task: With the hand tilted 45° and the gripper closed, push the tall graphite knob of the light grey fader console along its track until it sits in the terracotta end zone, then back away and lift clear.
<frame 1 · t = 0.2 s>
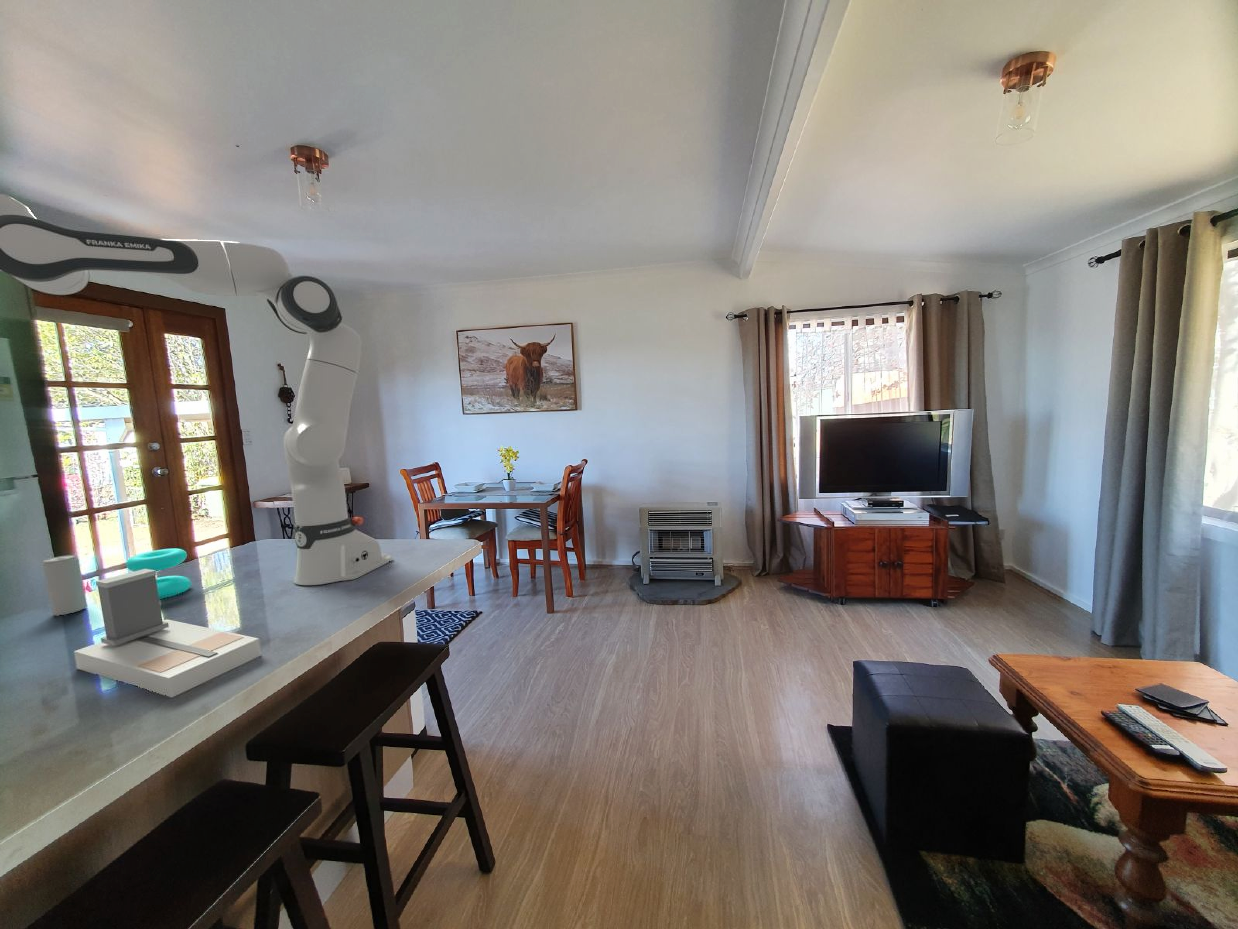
fader console: (170, 661, 76), on the table
beverage can: (70, 613, 99), on the table
fader knob: (131, 605, 78), point 9 cm above the table, slide at 0.0 cm
donuts: (163, 595, 107), on the table
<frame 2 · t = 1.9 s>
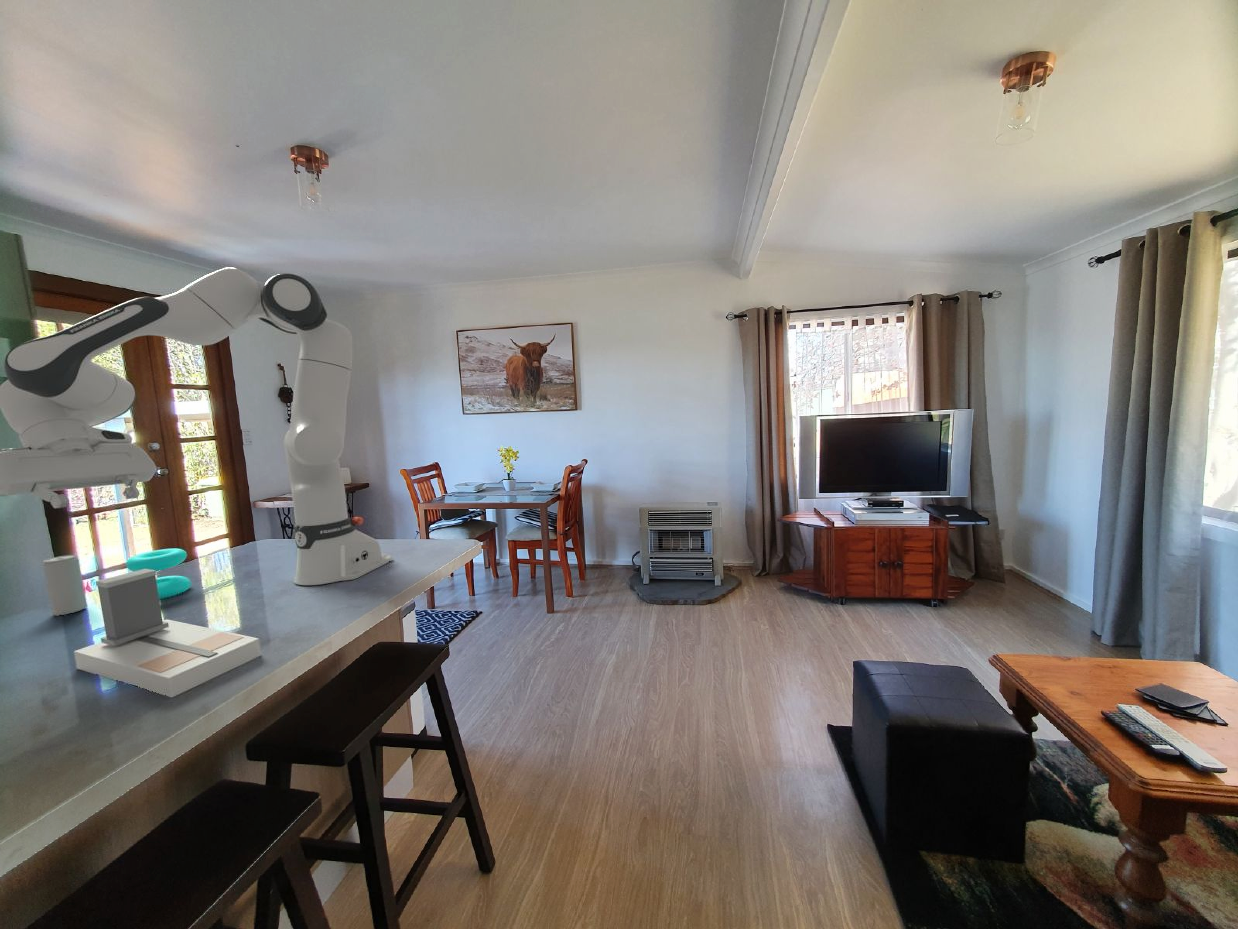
hand: (99, 500, 84), 26 cm above the table, tool tilted 45°, fingers open, 8 cm apart
nothing on the table moved.
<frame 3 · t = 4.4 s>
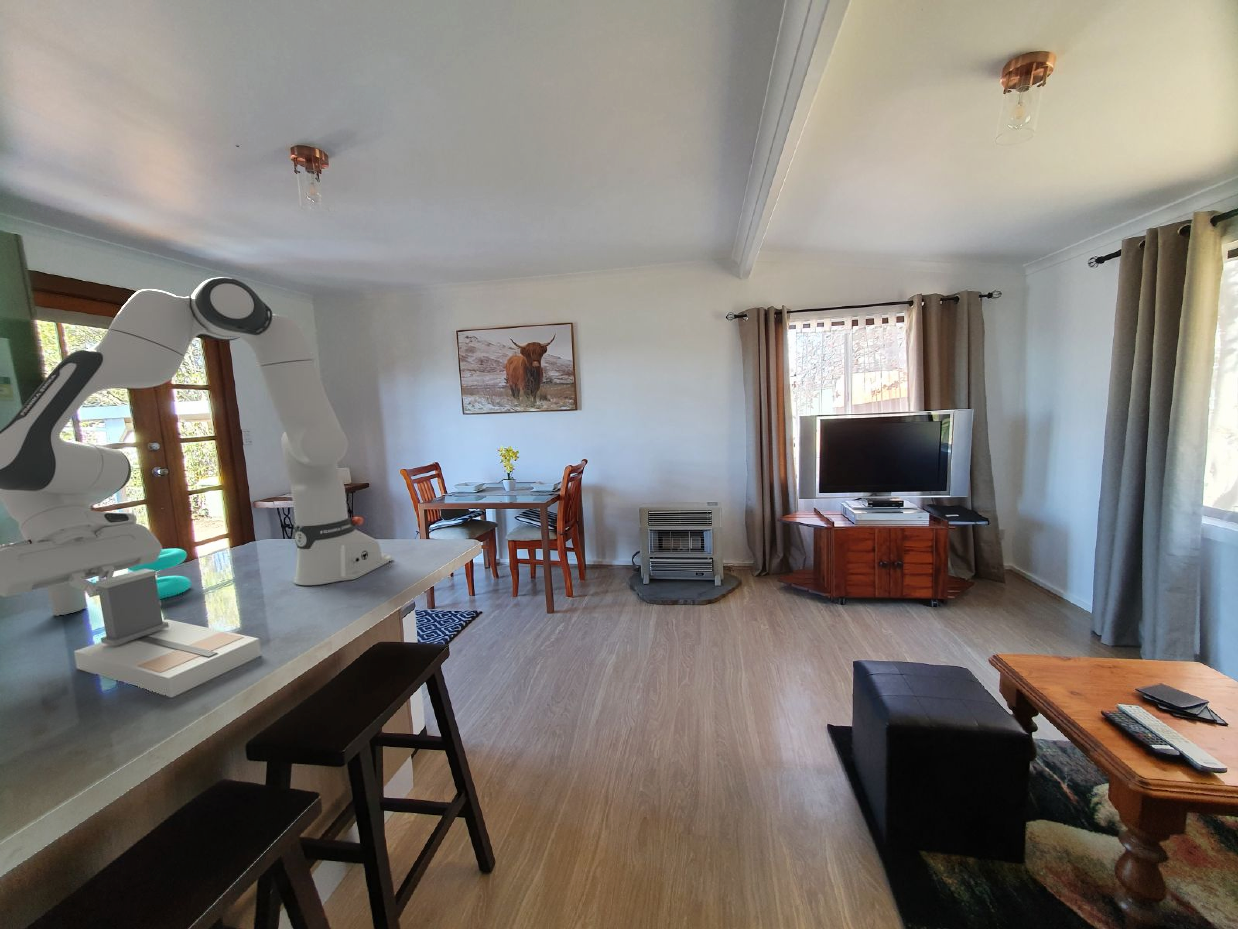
hand: (103, 592, 81), 10 cm above the table, tool tilted 45°, fingers closed
nothing on the table moved.
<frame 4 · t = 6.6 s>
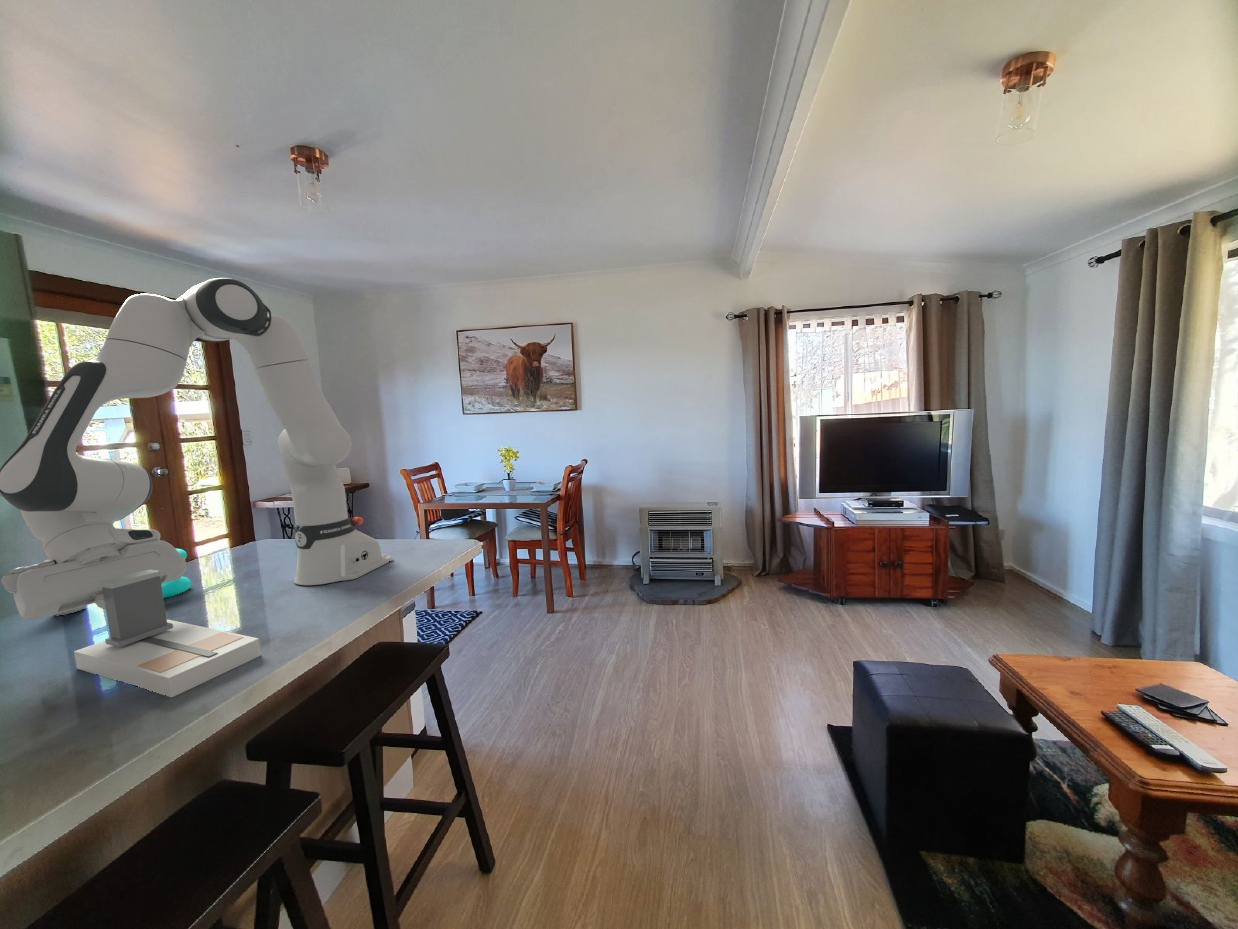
hand: (130, 612, 79), 7 cm above the table, tool tilted 45°, fingers closed, pressing on fader knob
fader knob: (135, 606, 78), point 9 cm above the table, slide at 1.3 cm, touching gripper
everything else where it was.
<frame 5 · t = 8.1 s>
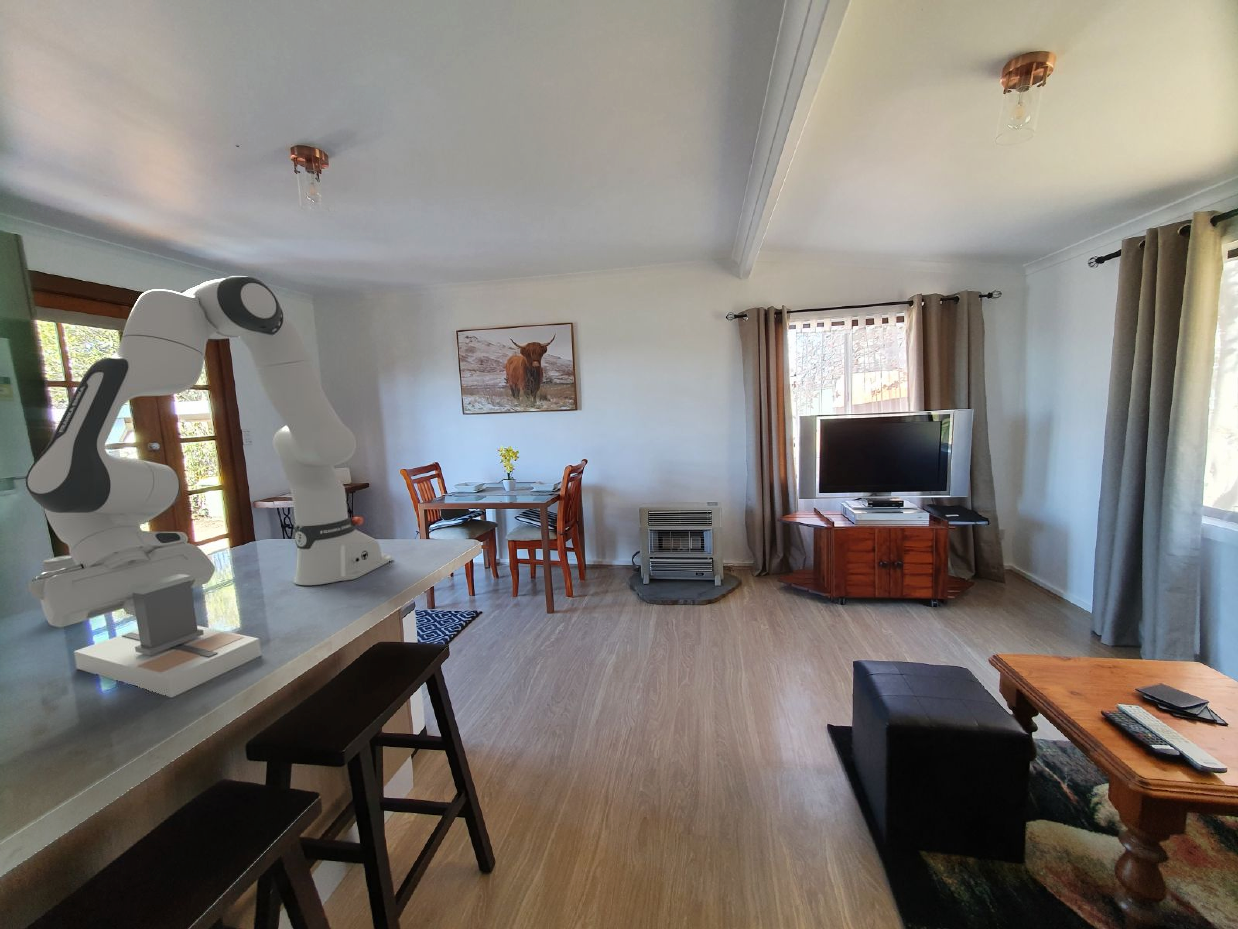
hand: (159, 619, 76), 7 cm above the table, tool tilted 45°, fingers closed, pressing on fader knob
fader knob: (166, 612, 75), point 9 cm above the table, slide at 10.0 cm, touching gripper
everything else where it was.
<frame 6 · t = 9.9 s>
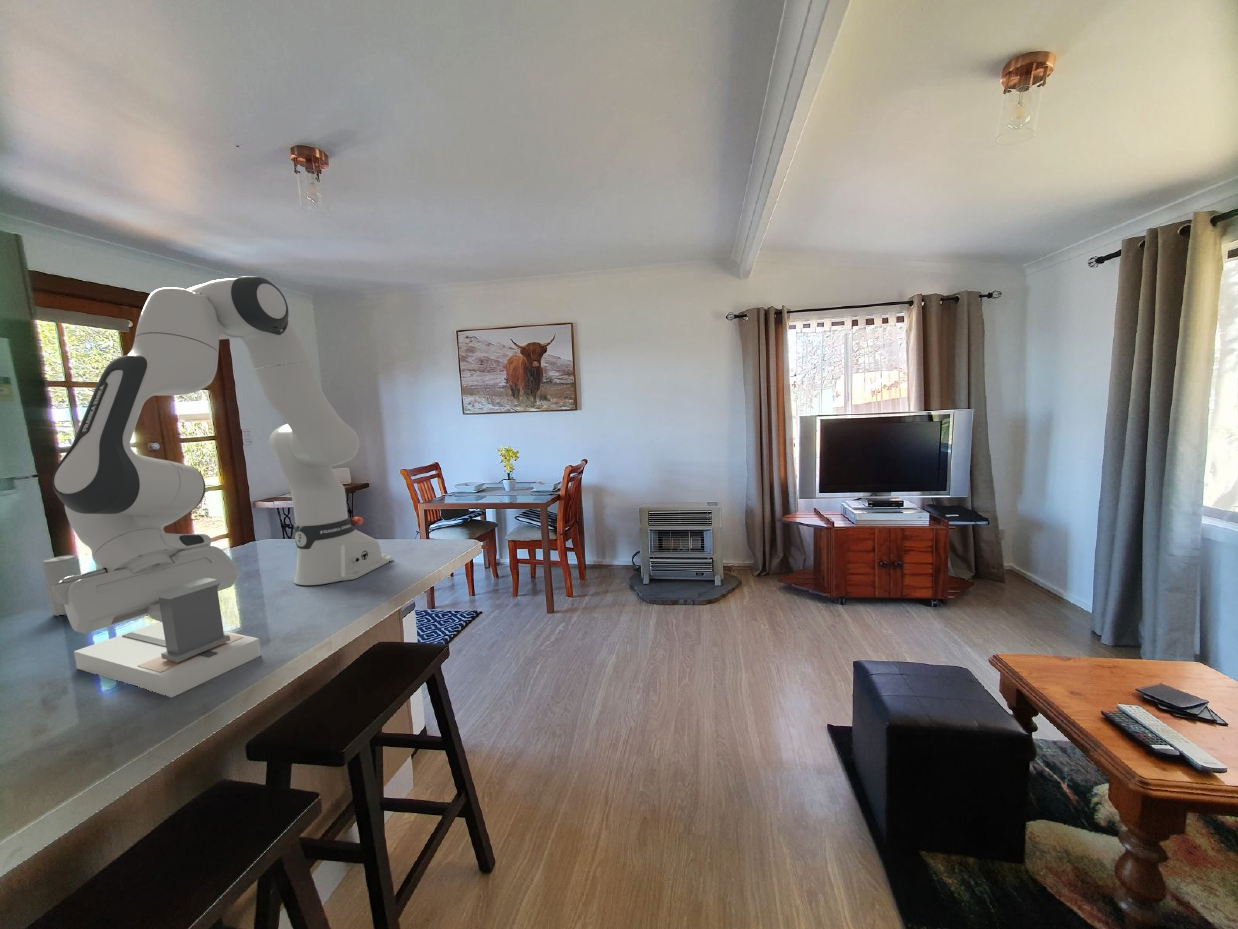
hand: (185, 624, 73), 7 cm above the table, tool tilted 45°, fingers closed, pressing on fader knob
fader knob: (192, 617, 72), point 9 cm above the table, slide at 17.1 cm, touching gripper
everything else where it was.
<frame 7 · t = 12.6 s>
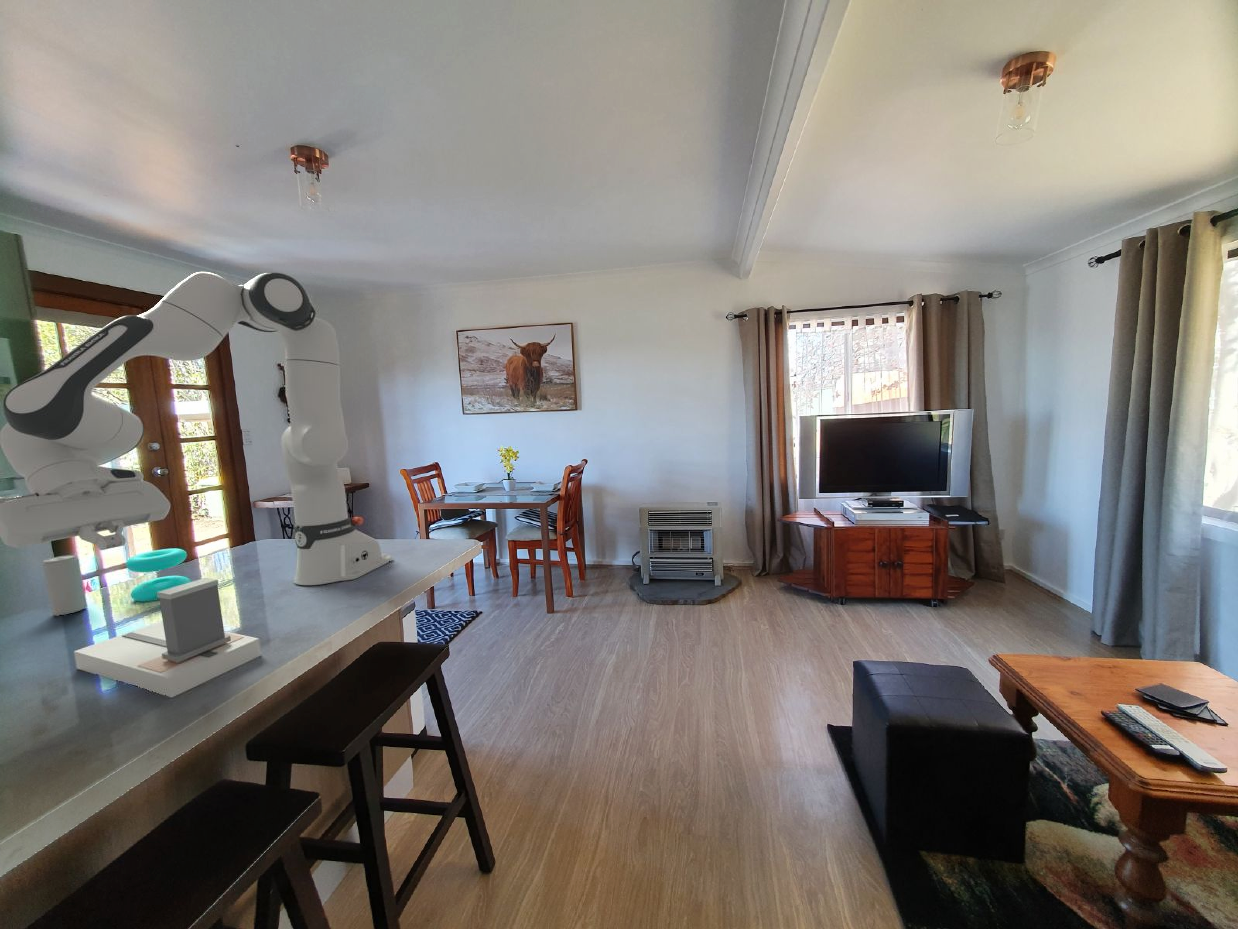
hand: (113, 545, 80), 19 cm above the table, tool tilted 45°, fingers closed
fader knob: (193, 617, 72), point 9 cm above the table, slide at 17.2 cm
everything else where it was.
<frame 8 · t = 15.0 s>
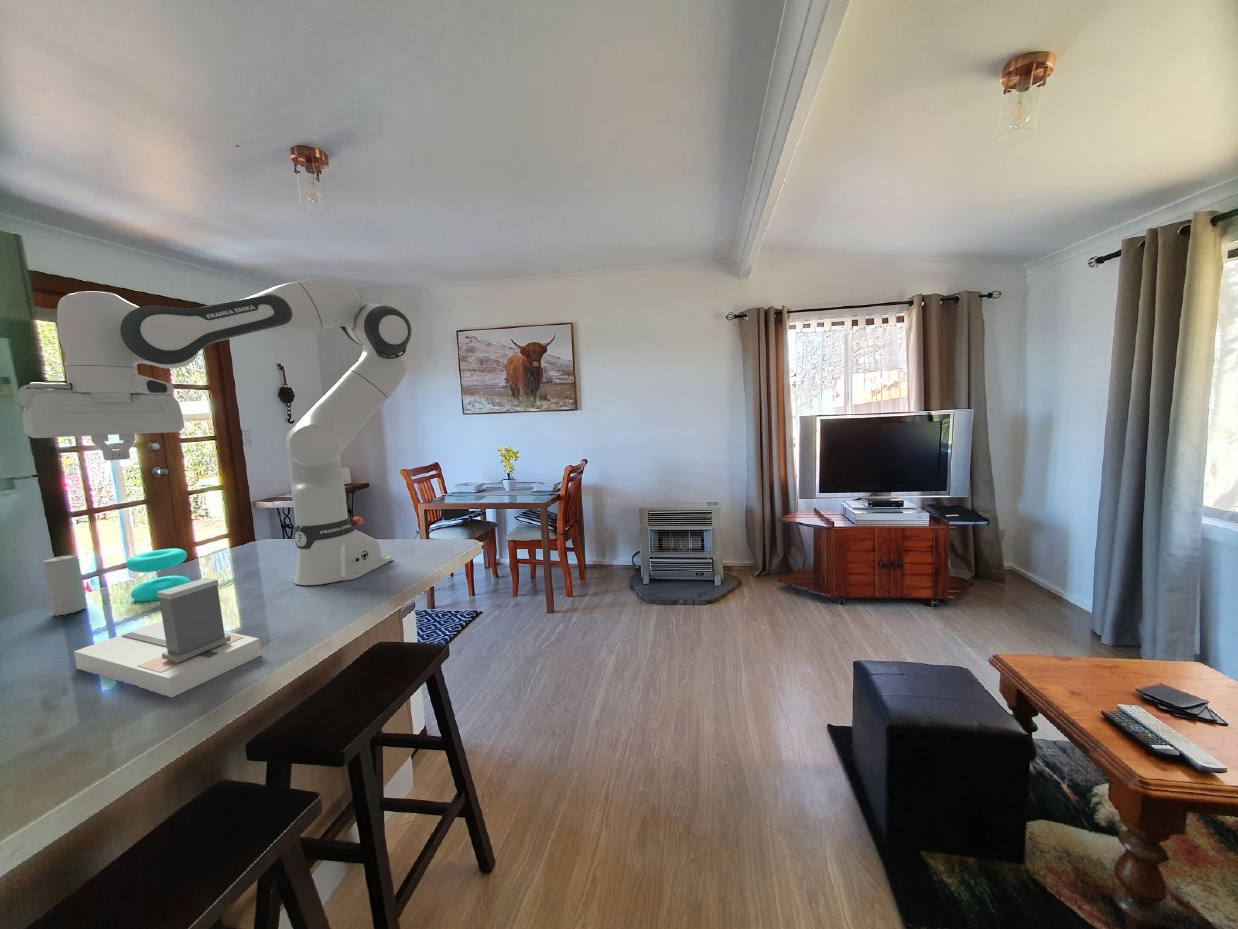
hand: (117, 459, 85), 33 cm above the table, tool pointing down, fingers closed
nothing on the table moved.
at the end: fader knob slide at 17.2 cm; beverage can moved 0.2 cm from its start; donuts moved 0.3 cm from its start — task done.
